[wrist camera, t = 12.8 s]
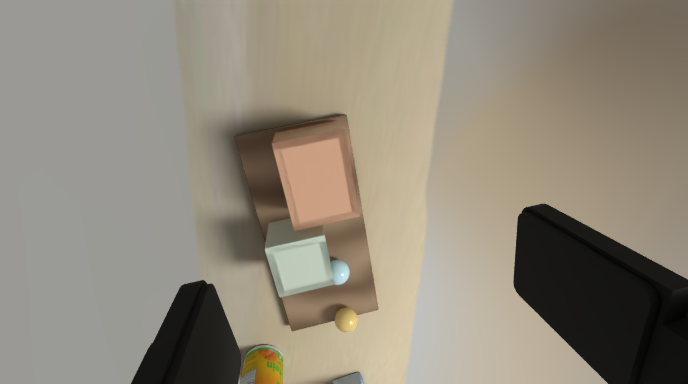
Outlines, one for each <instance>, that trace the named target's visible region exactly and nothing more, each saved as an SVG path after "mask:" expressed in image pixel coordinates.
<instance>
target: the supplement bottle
mask: <svg viewBox="0 0 688 384" xmlns="http://www.w3.org/2000/svg"><path fill="white" fill-rule="evenodd" d="M282 382H283V355H282V353H281V351H280V350H279V349H277V348H276V347H274V346H270V345H260V346H257V347H254V348H253V349H251V350H250V351H249V352H248V353H247V354H246V356H245V359H244V363H243V369H242V374H241V380H240V384H282Z"/></svg>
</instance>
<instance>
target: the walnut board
mask: <svg viewBox="0 0 688 384" xmlns="http://www.w3.org/2000/svg"><path fill="white" fill-rule="evenodd" d="M332 121H337V122H338V123H339V124H340V125H341V126H342V127H343V128H345V133H346V139H347V145H348V151H349V156H350V162H351V168H352V174H353V180H354V185H355V191H356V197H357V203H358V209H359V215H360V216H359V217H355V218H350V219H346V220H342V221H337V222H333V223H328V224H324V225H323V229H324V234H325V238H326V243H327V248H328V252H329V257H330V262H331V261H333V260H342V261H344V262H345V263H346V264H347V265H348V267H349V271H350V274H349V278H348V279H347V281H346V282H345V283H343V284H341V285H330V286H326V287H322V288H318V289H314V290H310V291H305V292H301V293H297V294H293V295H289V296H284V297H282V300H283V303H284V307H285V310H286V314H287V317H288V320H289V324H290V327H291V331H295V330H299V329H303V328H307V327H311V326H315V325H319V324H323V323H327V322H331V321H335V315H336V313H337V312H338V311H339V310H340V309H341V308H345V307H348V308H351V309H353V310H354V311H355V312H356V314H357V315H359V314H363V313H367V312H371V311H376V310H378V304H377V297H376V291H375V285H374V279H373V273H372V267H371V261H370V255H369V248H368V242H367V236H366V230H365V224H364V218H363V212H362V206H361V199H360V193H359V187H358V181H357V175H356V169H355V163H354V157H353V150H352V144H351V138H350V132H349V126H348V120H347V115H345V114H344V115H339V116H334V117H329V118H323V119H318V120H313V121H308V122H303V123H298V124H293V125H287V126H282V127H277V128H272V129H267V130H262V131H256V132H251V133H246V134H241V135H236V136H235V141H236V144H237V148H238V151H239V154H240V158H241V161H242V165H243V168H244V171H245V175H246V178H247V181H248V185H249V188H250V192H251V195H252V198H253V202H254V205H255V209H256V212H257V215H258V219H259V222H260V226H261V229H262V232H263V236H264V239H265V242H266V237H267V231H268V225H269V223H271V222H275V221H280V220H284V219H289V218H291V217H290V213H289V209H288V205H287V201H286V197H285V193H284V189H283V186H282V182H281V178H280V174H279V170H278V166H277V162H276V159H275V155H274V151H273V147H272V141H273V138H274V135H275V133H277V132H282V131H287V130H292V129H297V128H302V127H307V126H312V125H317V124H322V123H327V122H332Z"/></svg>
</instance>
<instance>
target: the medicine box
mask: <svg viewBox="0 0 688 384" xmlns="http://www.w3.org/2000/svg"><path fill="white" fill-rule="evenodd" d="M333 384H364V382H363V380H362V377H361V374H360V372H357V373H354V374H350V375H347V376H344V377H341V378H338V379H336V380H333Z"/></svg>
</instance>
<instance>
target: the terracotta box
mask: <svg viewBox="0 0 688 384" xmlns="http://www.w3.org/2000/svg"><path fill="white" fill-rule="evenodd" d="M272 147H273V151H274V155H275V159H276V162H277V166H278V170H279V174H280V178H281V182H282V186H283V189H284V193H285V197H286V201H287V205H288V209H289V213H290V217H291V220H292V224H293V228H294V231H297V230H302V229H306V228H311V227H315V226H320V225H324V224H328V223H333V222H337V221H342V220H346V219H350V218H355V217H359V216H360V215H359V209H358V203H357V197H356V191H355V185H354V180H353V174H352V168H351V162H350V156H349V151H348V145H347V139H346V133H345V128H343V127H342V126H341V125H340V124H339V123H338V122H337V121H332V122H327V123H322V124H317V125H312V126H307V127H302V128H297V129H292V130H287V131H282V132H277V133H275V135H274V138H273V141H272Z"/></svg>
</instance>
